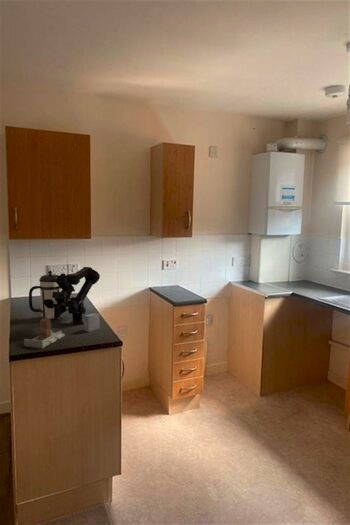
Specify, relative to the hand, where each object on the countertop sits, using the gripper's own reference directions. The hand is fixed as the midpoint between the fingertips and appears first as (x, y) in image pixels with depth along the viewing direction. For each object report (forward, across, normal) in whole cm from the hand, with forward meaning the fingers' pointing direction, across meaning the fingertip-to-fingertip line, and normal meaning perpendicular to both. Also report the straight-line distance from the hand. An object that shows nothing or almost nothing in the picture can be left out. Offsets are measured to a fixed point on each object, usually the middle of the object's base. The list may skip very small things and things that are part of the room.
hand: (55, 318), depth 202 cm
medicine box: (-3, +14, +17) cm, 22 cm away
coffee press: (-12, -21, +25) cm, 35 cm away
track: (+13, 0, 0) cm, 13 cm away
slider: (+12, 0, -1) cm, 12 cm away
